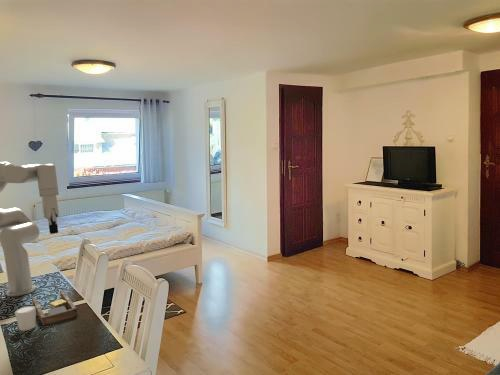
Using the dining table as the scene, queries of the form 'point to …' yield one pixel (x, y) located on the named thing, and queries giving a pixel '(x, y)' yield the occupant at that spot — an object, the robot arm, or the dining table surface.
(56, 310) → the counterweight
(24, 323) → the white cylinder
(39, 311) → the brown wooden tray
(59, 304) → the yellow square block
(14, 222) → the robot arm
